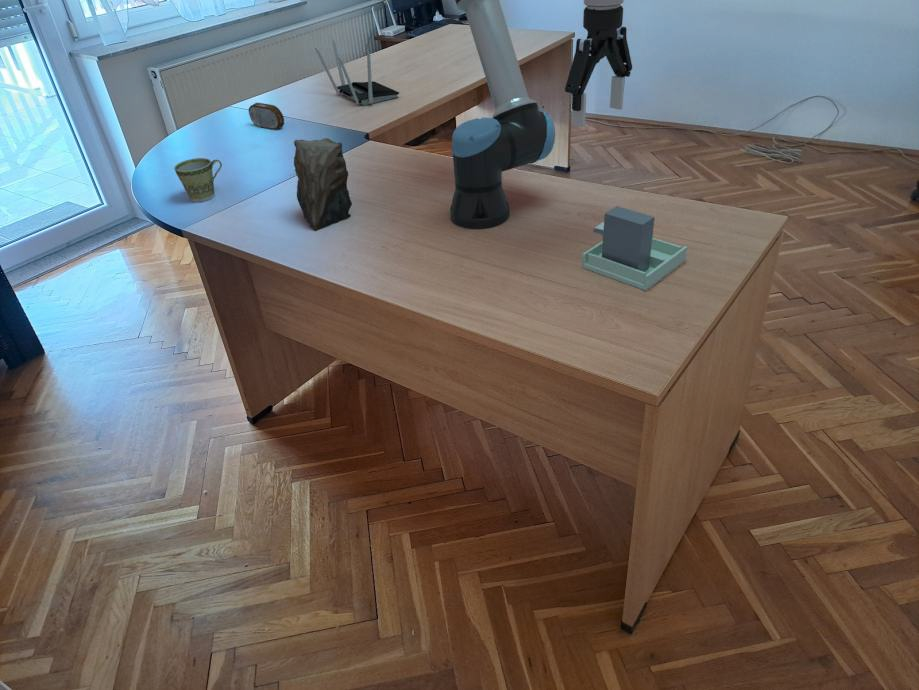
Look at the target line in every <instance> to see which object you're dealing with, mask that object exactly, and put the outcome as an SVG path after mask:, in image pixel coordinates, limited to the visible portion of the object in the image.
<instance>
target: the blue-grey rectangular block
mask: <svg viewBox="0 0 919 690" xmlns="http://www.w3.org/2000/svg"><path fill="white" fill-rule="evenodd" d="M603 218H604V219H603V222H604V231H603V234H602V241H603V247H602V257H603V258H606V259H608V260H611V261H614V262H617V263H620V264H623V265H626V266H629V267H632V268H634V269H637V270H640V271H643V272H645V271H646V270H648V269H649V263H650V254H651V245H652V238H653V235H654V225H655V216H652V215H649V214H646V213H642V212H638V211H636V210H632V209H629V208H625V207H623V206H622V207H621V206H620V205H619V206H618V205H616V206H614V207H613V208H611V209H610V210H608V211H606V212H604V217H603Z"/></svg>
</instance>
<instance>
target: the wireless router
mask: <svg viewBox="0 0 919 690" xmlns="http://www.w3.org/2000/svg"><path fill="white" fill-rule="evenodd" d="M331 43H332V48H333V51H334V56H335V60H336V66H337V70H338V74H339V75H338V76H339V78H340V85H339V86H337V84H336V82H335V80H334V78H333V76H332V74H331V72H330V71H329V68H328V66H327V64H326V62H325V60H324V58H323V56H322V54H321V52H320V50H319V49H318V48H316V47H315V46H314V50H315V51H316V54H317V56H318V57H319V59H320V62H321V64H322V66H323V68H324V70H325V72H326V75H327V76H328V79H330V82H331V84H332V86H333V88H334V90H335V92H336V94H337V95H340V94H342V95H343V96H345V97H347V98H349V99H351V100H353V101H354V102H355V104H356V105H359V104H360V105H362V106H366V105H370V104H371V105H372V104H375V103H379V102H384V101H388V100H392V99H396V98H397V97H398V95H399V94H400V91H397V90H395V89H393V88H390V87H388V86H385V85H384V84H381V83H379V82H376V81H372V65H371V52H367V54H366V58H367V59H366V61H367V81H361V82H360V81H352V82H351V79H350V77H349V74H348V72H347V69H346V67H345V63H344V62H343V60H342V59H341V58H340V57H339V54H338V48H337V45H336V41H335V39H334V38H331ZM344 76H345V77H344ZM345 78H346V81H347V84H346V82H345Z"/></svg>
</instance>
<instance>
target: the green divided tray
mask: <svg viewBox="0 0 919 690" xmlns="http://www.w3.org/2000/svg"><path fill="white" fill-rule="evenodd" d="M602 247H603V240H602V241H600V242H598V243H597V244H596V245H594V246H592V247H591V248H590V249H588V250H586V251H584V252H583V253H582V259H581V260H582V262H581V268H583V269H585V270H588V271H591V272H593V273H597V274H598V275H602V276H605V277H606V278H610V279H613V280H615V281H618V282H620V283H624V284H626V285H629V286H632V287H635V288H637V289H640V290H643V291H648V290H649V289H650V288H652V287H653V286H654V285H655V284H657V283H658V282H659V281H661V280H662V279H663V278H665V277H667V275H668V274H670V273H671V272H673V271H674V270H675V269H677V268H678V267H679V266H681V265H682V264H683V263H685V262H686V260H687V255H688V254H687V251H688V246H685V245H684V246H682V245H679V244H675V243H671V242H668V241H665V240H662V239H658V238H655V237H652V245H651V254H650V263H649V269H648V270H646V271H645V272H643V271H640V270H637V269H634V268H632V267H629V266H626V265H623V264H620V263H617V262H614V261H611V260H608V259H606V258H603V257H602Z"/></svg>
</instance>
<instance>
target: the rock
mask: <svg viewBox="0 0 919 690" xmlns="http://www.w3.org/2000/svg"><path fill="white" fill-rule="evenodd" d="M293 144H294V147H295V152H294V157H293V166H294V172H295V174H296V176H297V177H296V178H298V179H297V186H296V189H297V190H296V200H297V203H298V204H299V207H300V209H301V212H302V214H303V218H304V219H305V220H306V222H307V223H308V224H309V226H310V228H311V229H313V231H315V232H317V231H319V230H322V229H324V228H327V227H329V226H332V225H334V224H338V223H339V222H342V221H345V220H347V219H348V220H349V218H350V217H351V215H352V214H351V213H350V209H351V207H352V206H353V203H352V200H351V198H350V192H349V189H348V179H349V178H348V177H349V171H348V170H347V164H346V163H347V162H346V159H345V158H344V154H343V143H342V142H336V141H333V140H332V139H330V138H325V137H324V138H321V139H313V140H306V139H295V140H294V141H293Z"/></svg>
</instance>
